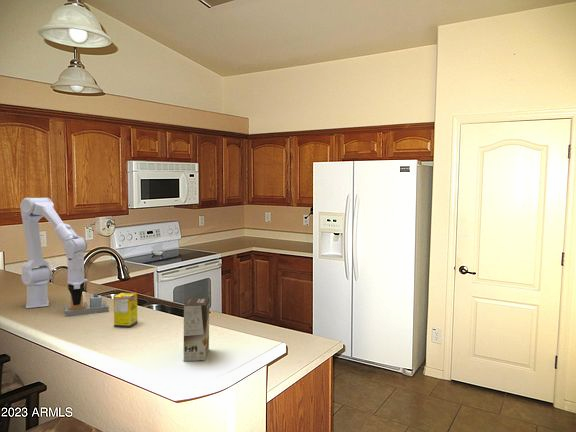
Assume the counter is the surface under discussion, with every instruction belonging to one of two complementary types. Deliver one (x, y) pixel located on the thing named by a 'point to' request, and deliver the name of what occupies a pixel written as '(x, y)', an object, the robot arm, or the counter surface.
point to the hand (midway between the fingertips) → (76, 303)
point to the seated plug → (95, 301)
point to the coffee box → (196, 329)
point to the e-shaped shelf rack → (86, 309)
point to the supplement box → (125, 309)
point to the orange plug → (77, 305)
